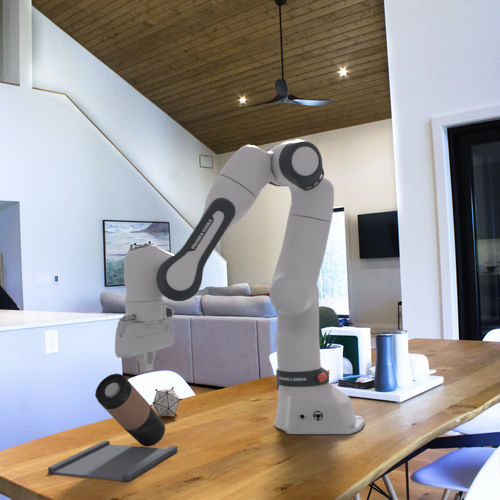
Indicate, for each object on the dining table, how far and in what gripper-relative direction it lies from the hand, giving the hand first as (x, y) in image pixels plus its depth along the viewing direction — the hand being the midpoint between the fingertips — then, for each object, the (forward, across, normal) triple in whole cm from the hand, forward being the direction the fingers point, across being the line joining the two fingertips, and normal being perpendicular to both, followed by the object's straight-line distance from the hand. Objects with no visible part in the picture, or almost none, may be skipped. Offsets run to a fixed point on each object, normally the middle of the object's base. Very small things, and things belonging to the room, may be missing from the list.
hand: (146, 371), depth 138 cm
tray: (+17, -13, +1) cm, 21 cm away
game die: (+18, +24, +10) cm, 31 cm away
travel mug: (+15, +1, 0) cm, 15 cm away
